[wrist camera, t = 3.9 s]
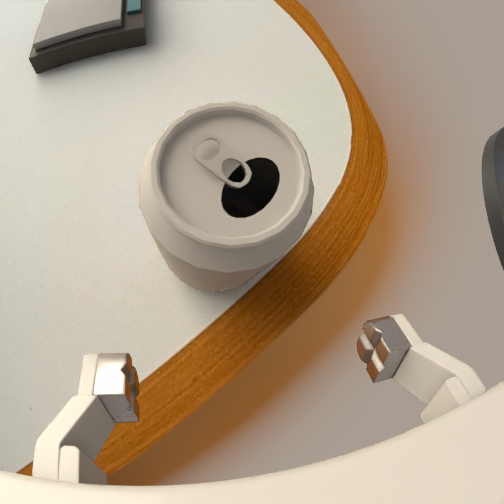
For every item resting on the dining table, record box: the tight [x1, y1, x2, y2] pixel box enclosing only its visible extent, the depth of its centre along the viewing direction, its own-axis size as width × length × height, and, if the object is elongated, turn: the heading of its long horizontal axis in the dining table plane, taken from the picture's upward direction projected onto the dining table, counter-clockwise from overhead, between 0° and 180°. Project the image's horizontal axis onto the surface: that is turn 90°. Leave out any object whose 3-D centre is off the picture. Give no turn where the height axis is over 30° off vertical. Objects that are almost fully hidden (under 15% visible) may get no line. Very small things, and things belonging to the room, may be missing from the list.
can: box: [138, 102, 314, 292], centre depth 17 cm, size 8×8×12 cm
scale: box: [29, 0, 146, 73], centre depth 24 cm, size 12×12×4 cm
